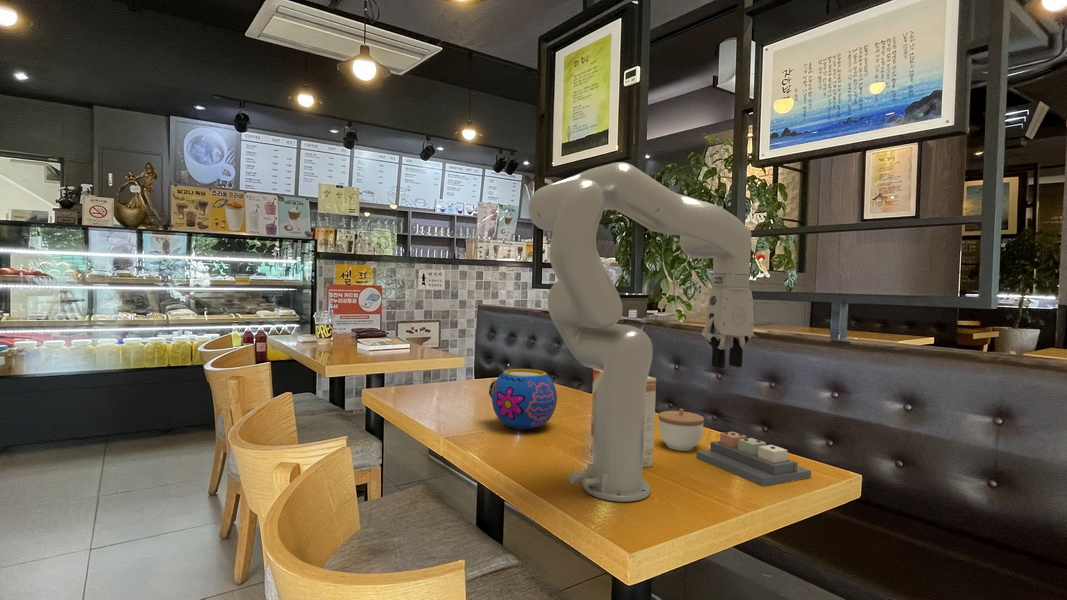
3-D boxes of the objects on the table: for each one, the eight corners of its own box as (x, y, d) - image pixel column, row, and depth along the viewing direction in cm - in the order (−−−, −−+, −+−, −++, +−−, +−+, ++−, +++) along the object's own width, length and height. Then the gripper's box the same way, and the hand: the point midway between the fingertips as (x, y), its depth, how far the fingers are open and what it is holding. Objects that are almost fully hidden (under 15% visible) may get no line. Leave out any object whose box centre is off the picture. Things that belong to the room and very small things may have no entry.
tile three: (732, 448, 124) (733, 436, 124) (719, 443, 127) (720, 431, 127) (745, 446, 126) (746, 434, 125) (732, 441, 129) (733, 430, 129)
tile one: (773, 463, 114) (774, 450, 114) (757, 457, 118) (758, 445, 117) (786, 461, 116) (787, 448, 116) (771, 455, 119) (771, 443, 119)
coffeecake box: (588, 450, 130) (592, 368, 129) (613, 447, 133) (616, 366, 133) (627, 470, 117) (631, 379, 116) (654, 466, 120) (657, 377, 119)
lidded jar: (692, 457, 128) (694, 416, 127) (650, 447, 134) (651, 409, 134) (709, 447, 136) (710, 409, 136) (668, 438, 143) (669, 402, 142)
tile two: (752, 455, 119) (752, 443, 119) (738, 450, 122) (738, 438, 122) (765, 453, 121) (766, 441, 121) (751, 448, 124) (751, 436, 124)
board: (763, 486, 110) (763, 469, 110) (696, 457, 127) (697, 442, 127) (810, 477, 116) (811, 461, 116) (741, 451, 133) (741, 437, 133)
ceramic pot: (527, 416, 161) (529, 365, 161) (569, 430, 147) (571, 374, 147) (477, 424, 150) (479, 369, 149) (517, 440, 136) (519, 380, 136)
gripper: (713, 282, 113) (709, 370, 114) (772, 284, 120) (768, 367, 121) (688, 281, 120) (685, 365, 120) (745, 284, 127) (741, 362, 128)
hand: (726, 365), depth 121 cm, fingers open, 4 cm apart
